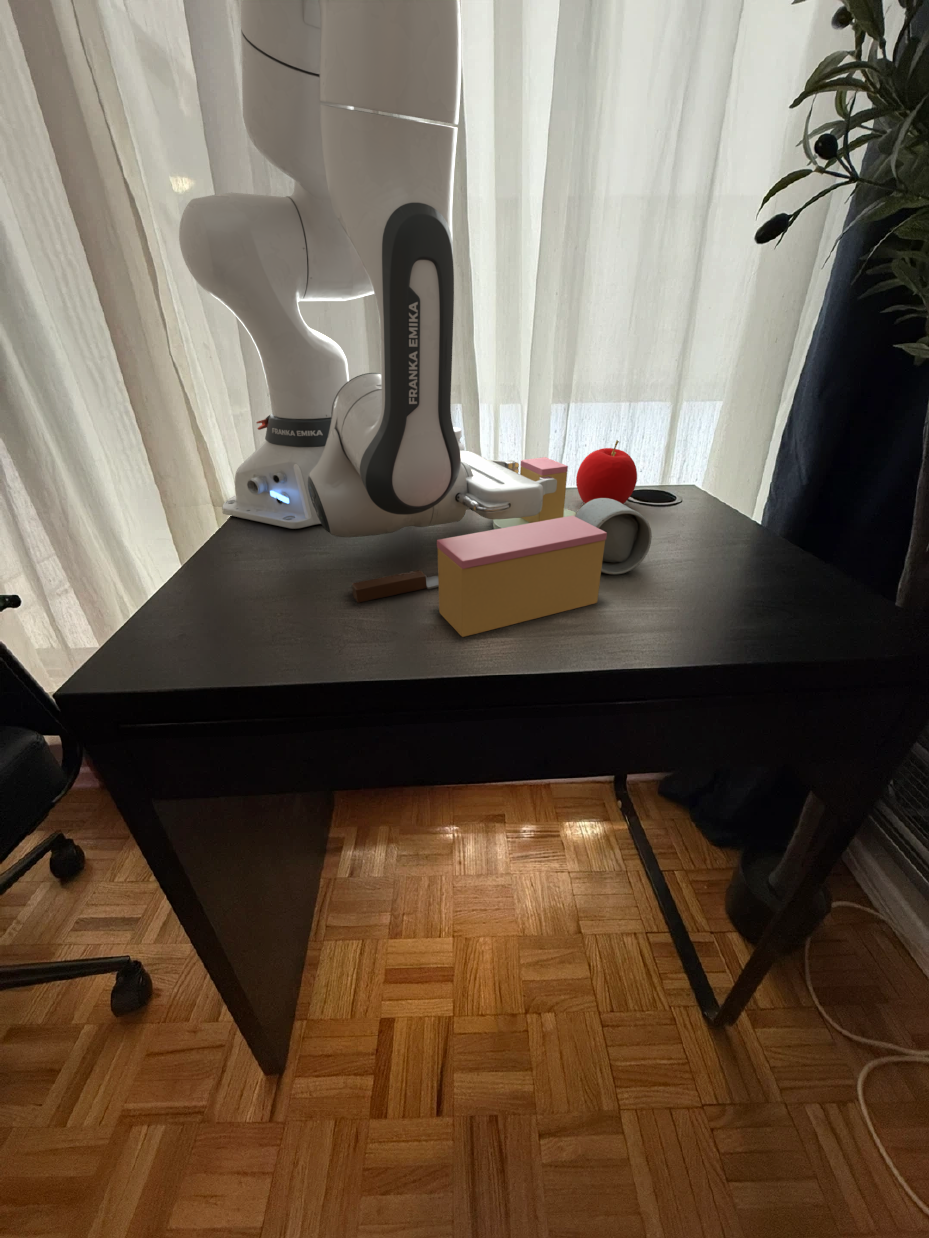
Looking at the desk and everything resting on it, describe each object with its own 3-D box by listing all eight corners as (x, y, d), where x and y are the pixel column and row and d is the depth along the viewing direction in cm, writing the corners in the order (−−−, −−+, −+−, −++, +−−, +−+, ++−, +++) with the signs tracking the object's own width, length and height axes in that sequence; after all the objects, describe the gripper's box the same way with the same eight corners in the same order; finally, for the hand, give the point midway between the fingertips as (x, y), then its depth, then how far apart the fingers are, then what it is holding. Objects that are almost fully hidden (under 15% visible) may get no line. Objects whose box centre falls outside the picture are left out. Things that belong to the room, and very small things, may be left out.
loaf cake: (462, 638, 54) (462, 561, 50) (438, 612, 59) (436, 539, 55) (598, 603, 60) (607, 532, 56) (566, 582, 65) (573, 515, 61)
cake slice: (538, 528, 77) (542, 469, 73) (518, 516, 82) (520, 460, 78) (563, 523, 79) (568, 466, 75) (541, 512, 83) (545, 457, 79)
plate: (482, 537, 77) (482, 530, 77) (504, 507, 88) (505, 501, 88) (578, 547, 74) (579, 540, 73) (589, 515, 85) (590, 509, 84)
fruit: (627, 518, 84) (637, 449, 79) (567, 510, 87) (573, 443, 82) (637, 500, 91) (647, 436, 86) (581, 494, 94) (588, 431, 89)
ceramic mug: (619, 546, 74) (627, 488, 70) (647, 572, 67) (657, 509, 63) (541, 553, 73) (544, 494, 69) (561, 580, 65) (566, 516, 62)
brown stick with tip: (358, 604, 60) (356, 590, 60) (352, 595, 62) (350, 581, 61) (520, 569, 68) (521, 557, 67) (510, 562, 70) (510, 550, 69)
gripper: (479, 484, 62) (582, 470, 67) (410, 446, 78) (498, 437, 83) (478, 539, 65) (577, 520, 70) (412, 491, 81) (497, 479, 86)
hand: (534, 475), depth 77 cm, fingers open, 8 cm apart
